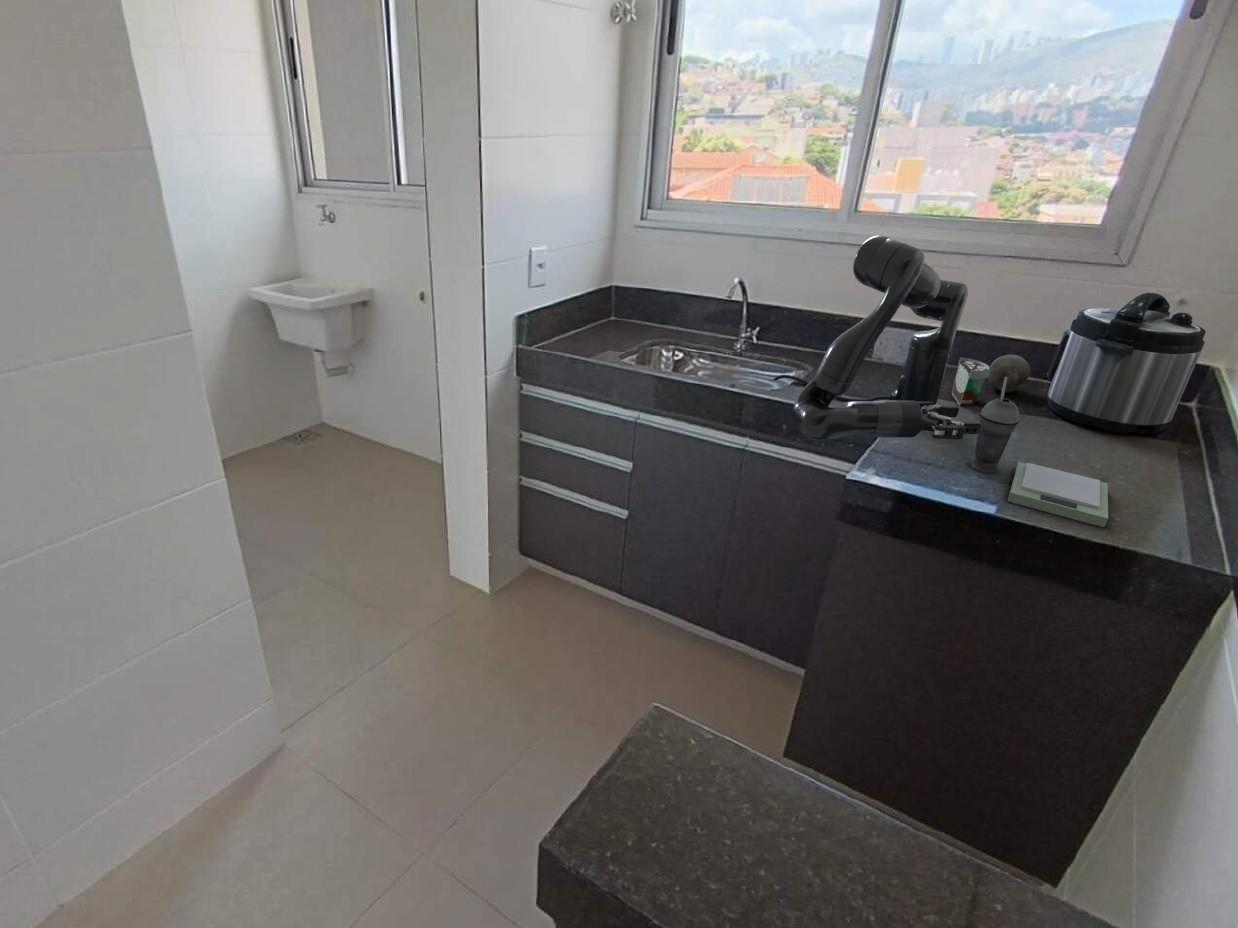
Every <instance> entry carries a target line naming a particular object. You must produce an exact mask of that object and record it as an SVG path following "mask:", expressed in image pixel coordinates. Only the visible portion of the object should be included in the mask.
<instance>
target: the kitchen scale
mask: <svg viewBox="0 0 1238 928" xmlns="http://www.w3.org/2000/svg"><path fill="white" fill-rule="evenodd" d="M1108 487H1109V483H1108V482H1104V481H1101V480H1100V479H1096V478H1092V477H1087V476H1085V475H1080V474H1076V473H1071V472H1067V471H1063V470H1059V469H1054V468H1051V467H1047V466H1043V465H1040V464H1039V465H1038V464H1035V463H1031V462H1023V461H1018V462H1017V465H1016V467H1015V472H1014V475H1013V479H1012V482H1011V487H1010V490H1009V494H1008V498H1007V502H1009V503H1012V504H1016V505H1020V506H1024V507H1027V508H1030V509H1034V510H1038V511H1042V512H1045V513H1049V514H1053V515H1056V516H1060V517H1063V518H1068V519H1070V520H1074V521H1078V522H1081V523H1085V524H1089V525H1093V526H1096V527H1101V528H1105V527H1106V525H1107V522H1108V520H1109V490H1108V489H1109V488H1108Z"/></svg>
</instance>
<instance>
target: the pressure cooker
mask: <svg viewBox="0 0 1238 928" xmlns="http://www.w3.org/2000/svg"><path fill="white" fill-rule="evenodd" d="M1170 309H1171V306H1170V303H1169V301H1168V300H1167V299H1166V297H1165V296H1164V295H1162V294H1160V293H1157V292H1144V293H1141V294H1139V295H1137V296H1136V297H1134V298H1132V299H1131V300H1130V301H1129V302H1128V303H1126V304H1125V305H1124V306H1123V307H1122V308H1119V309H1118V308H1104V307H1103V308H1101V307H1100V308H1099V307H1098V308H1093V307H1092V308H1083V309H1081V310H1079V311H1078V313H1077V316H1076V318H1075V319H1073V320H1072V322H1071V325H1070V328H1069V329H1067V330H1065V331H1064V332H1063V334H1062V337H1061V339H1060V341H1059V344H1058V346H1057V349H1056V351H1055V354H1054V356H1053V357H1052V361H1051V363H1050V365H1049V368H1048V371H1047V373H1046V376H1047V382H1050V385H1049V388H1048V391H1047V395H1046V402H1047V404H1048V408H1050V410H1052V411H1053V412H1054V413H1056V414H1057V415H1059V416H1061V417H1063V418H1065V419H1067V420H1069V421H1072V422H1075V423H1077V424H1080V425H1088V426H1091V427H1095V428H1098V429H1101V430H1104V431H1109V432H1114V433H1119V434H1130V433H1131V432H1133V433H1137V434H1147V435H1151V434H1152V435H1153V434H1157V433H1160V432H1162V431H1163V430H1165V428H1167V427H1168V426H1169V425H1170V424H1171V422H1172V420H1173V418H1174V416H1175V413H1176V411H1177V408H1178V406H1179V404H1180V402H1181V399H1182V397H1183V395H1184V393H1185V391H1186V388H1187V385H1188V383H1189V380H1190V378H1191V376H1192V374H1193V372H1194V370H1195V367H1196V365H1197V363H1198V360H1199V358H1200V356H1201V353H1202V351H1203V348H1204V345H1205V341H1204V338H1205V335H1206V333H1207V331H1206V329H1204V328H1203V327H1201V326H1199V325H1196V324H1194V323H1193V320H1194V318H1193V316H1192V315H1191V314H1190V313H1188V312H1177V313H1174V314H1172V316H1171V317H1170V315H1171V311H1170Z"/></svg>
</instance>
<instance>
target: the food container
mask: <svg viewBox="0 0 1238 928" xmlns="http://www.w3.org/2000/svg"><path fill="white" fill-rule="evenodd" d="M957 365H958V366H957V370H956V374H955V378H954V382H953V386H952V390H951V395H952V397H953V398H954V400H955V401H956V402H957V404H958V406H960V407H971V406H974V405H976V404H977V401H978V400H979V399H978V398H979V397H980V394H981V391H982V388H983V385H984V383H985V381H986V379H988V377H989V373H990V370H989V367H990V365H988V364H986V363H985V362H982V361H979V360H976V359H972V358H968V357H960V358H959V361H958V363H957Z"/></svg>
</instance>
